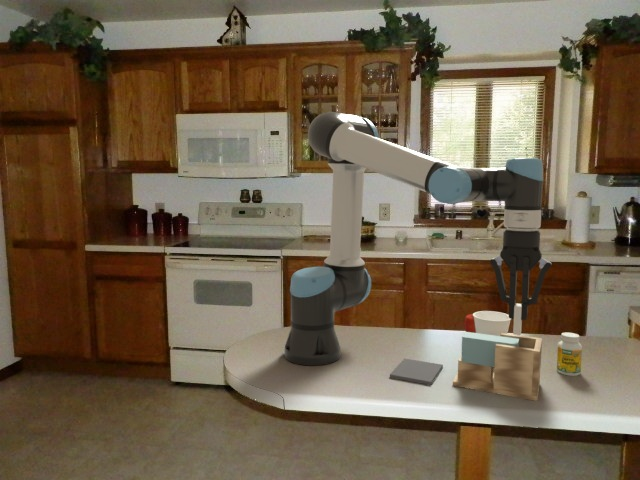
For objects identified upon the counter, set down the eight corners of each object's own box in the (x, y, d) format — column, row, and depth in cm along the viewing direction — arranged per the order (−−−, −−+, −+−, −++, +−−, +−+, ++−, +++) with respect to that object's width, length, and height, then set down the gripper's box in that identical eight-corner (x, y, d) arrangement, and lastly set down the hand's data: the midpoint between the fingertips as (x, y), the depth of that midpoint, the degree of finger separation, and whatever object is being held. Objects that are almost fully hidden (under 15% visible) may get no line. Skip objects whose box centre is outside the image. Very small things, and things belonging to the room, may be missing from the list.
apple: (489, 339, 149) (490, 314, 148) (480, 344, 144) (481, 319, 143) (470, 334, 153) (470, 311, 152) (460, 339, 149) (461, 314, 148)
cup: (512, 363, 130) (514, 321, 128) (473, 360, 132) (474, 319, 130) (506, 350, 139) (508, 311, 138) (469, 347, 141) (471, 309, 140)
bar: (461, 361, 117) (462, 336, 116) (464, 355, 121) (465, 331, 120) (516, 370, 111) (517, 344, 111) (517, 363, 115) (519, 338, 115)
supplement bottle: (578, 369, 125) (580, 332, 124) (582, 377, 120) (585, 339, 119) (554, 367, 127) (557, 330, 126) (558, 375, 122) (560, 336, 121)
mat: (389, 377, 120) (389, 374, 120) (404, 361, 131) (404, 358, 131) (431, 385, 116) (431, 381, 116) (442, 367, 126) (442, 364, 126)
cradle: (452, 385, 115) (454, 339, 114) (460, 370, 124) (462, 327, 123) (537, 400, 107) (539, 351, 106) (539, 383, 116) (542, 338, 115)
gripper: (488, 229, 109) (484, 333, 112) (553, 231, 104) (548, 341, 106) (493, 226, 116) (489, 325, 119) (554, 228, 110) (549, 332, 113)
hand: (517, 333), depth 113 cm, fingers closed
